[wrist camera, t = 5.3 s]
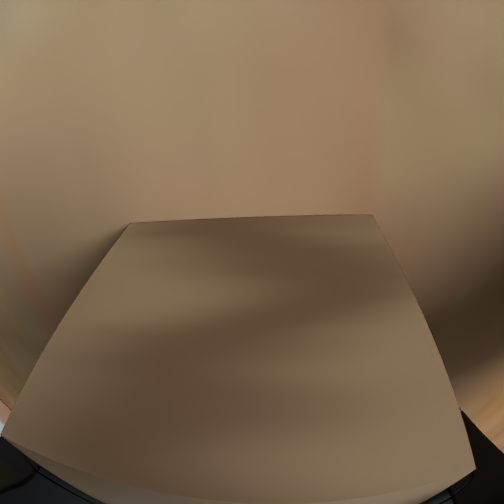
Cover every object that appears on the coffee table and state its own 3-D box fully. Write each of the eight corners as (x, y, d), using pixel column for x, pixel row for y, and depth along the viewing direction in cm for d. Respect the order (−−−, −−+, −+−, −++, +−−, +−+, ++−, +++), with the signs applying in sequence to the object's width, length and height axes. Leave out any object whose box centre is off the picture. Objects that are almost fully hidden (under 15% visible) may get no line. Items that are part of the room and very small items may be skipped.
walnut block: (371, 214, 7) (475, 468, 2) (344, 368, 10) (361, 531, 5) (130, 223, 8) (0, 435, 3) (179, 368, 11) (142, 520, 6)
